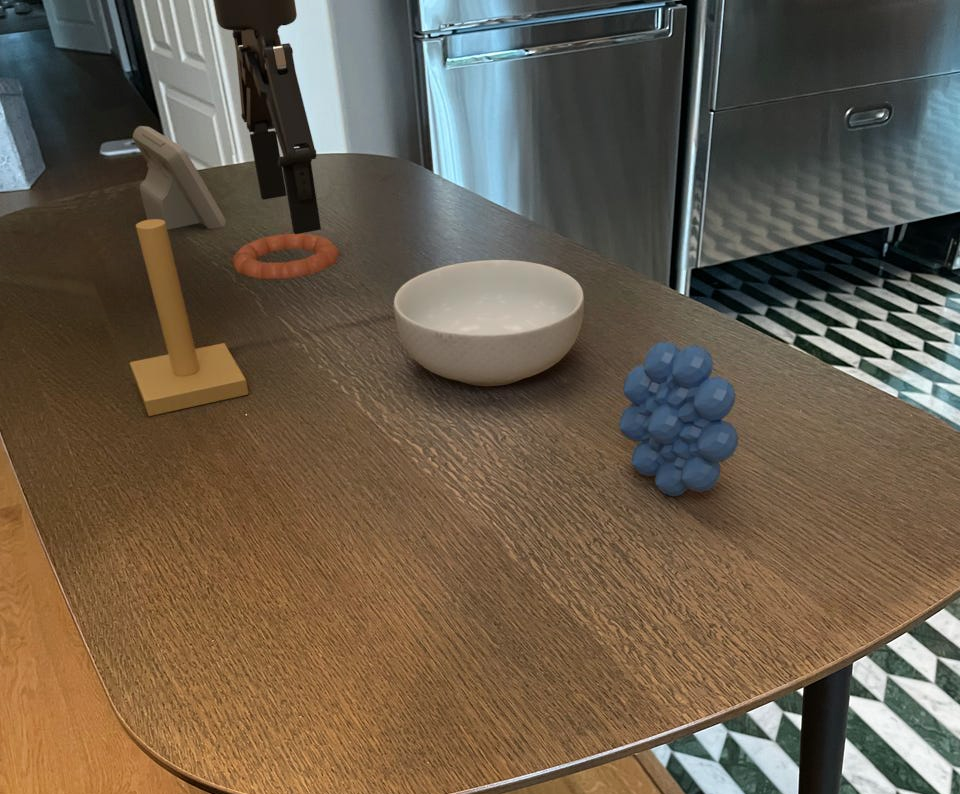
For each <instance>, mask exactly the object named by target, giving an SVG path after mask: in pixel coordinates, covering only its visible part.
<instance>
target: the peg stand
mask: <svg viewBox="0 0 960 794" xmlns="http://www.w3.org/2000/svg"><path fill="white" fill-rule="evenodd" d="M135 228H136V229H135V230H136V233H137V237H138V240H139V244H140V249H141V253H142V256H143V261H144V265H145V269H146V272H147V276H148V280H149V285H150V288H151V291H152V296H153V300H154V304H155V307H156V311H157V316H158V319H159V323H160V327H161V330H162V335H163V338H164V342H165V343H164V344H165V347H166V351H167V354H163V355H158V356H154V357H149V358H143V359H138V360H133V361H130V362H129V366H130V369H131V373H132V377H133V379H134V381H135V382H134V383H135V385H136V387H137V390H138V393H139V395H140V398H141V400H142V402H143V403H142V404H143V405H144V408H145V412H146V413H147V415H148V417H152V416H157V415H160V414H161V415H162V414H165V413H170V412H174V411H180V410H184V409H189V408H193V407H198V406H203V405H206V404H212V403H215V402H216V403H217V402H220V401H221V402H222V401H224V400H229V399H235V398H238V397H239V398H240V397H243V396H247V395H250V393H249V388H248V383H247V379H246V377H245V376H244V374H243V372H242V371H241V369H240V367H239V365H238V364H237V362H236V360H235V359H234V356H233V355H232V353H231V352H230V350H229V348H228V346H227V344H226V343H225V342H222V343H217V344H213V345H212V344H211V345H208V346H202V347H197V348H196V347H195V343H194V339H193V333H192V329H191V326H190V321H189V318H188V312H187V309H186V304H185V300H184V297H183V291H182V287H181V283H180V279H179V275H178V270H177V265H176V262H175V257H174V254H173V250H172V246H171V245H172V244H171V241H170V236H169V232H168V230H167V228H166V224H165V221H164V220H160V219H150V220H147V219H145V220H142V221H139V222H138V223H136V224H135Z"/></svg>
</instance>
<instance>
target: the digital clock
mask: <svg viewBox="0 0 960 794" xmlns="http://www.w3.org/2000/svg"><path fill="white" fill-rule="evenodd" d="M132 140H133V141H134V144H135V145H136V146H137V148H138V150H139V151H140V153H141V155H142V156H143V158H144V160H145V161H146V167H147V168H148V169H147V173H146V177H145V179H144V180H143V181H142V182H141V183H140V185H139V192H140V197H141V201H142V205H143V207H144V208H143V209H144V213H145V216H146V217H145V218H146V220H150V219H160V220H164V221H165V224H166V228H167V231H169V230H174V229H177V228H183V227H188V226H191V225H197V224H201V225H203V226H204V227H206V228H207V229H208V230H209V229H210V230H211V229H221V228H224V227H225V226H226V225H227V224H228V223H227V220H226V218H225V216H224V215H223V212H222V211H221V209H220V208H219V205H218V204H217V202H216V201H215V199H214V197H213V196H212V195H213V194H212V193H211V192H210V190H209V189H208V187H207V185H206V183H205V182H204V179H202V177H201V175H200V173H199V171H198V170H197V168H196V166H195V165H194V163H193V161H192V159H191V157H190V156H189V154H188V153H187V151H186V150H185V148H183V146H181V145H180V144H177V143H176V142H174V141H173V140H172V139H170V138H168V137H167V136H165V135H163V134H162V133H160V132H158V131H157V130H156V129H153V128H152V127H150V126H146V125H139V126H137V127H136V128H135V129H134V130H133V133H132Z"/></svg>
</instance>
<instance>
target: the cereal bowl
mask: <svg viewBox="0 0 960 794" xmlns="http://www.w3.org/2000/svg"><path fill="white" fill-rule="evenodd" d="M584 308H585V294H584V291H583V288H582V286H581V285H580V283H579V282H578V280H576V279H575V278H574V277H572V276H571V275H570V274H567V273H566V272H564V271H562V270H559V269H557V268H555V267H552V266H549V265H546V264H541V263H537V262H529V261H523V260H522V261H521V260H511V259H487V260H485V259H484V260H475V261H474V260H473V261H466V262H460V263H459V262H458V263H454V264H449V265H445V266H441V267H438V268H434V269H431V270H429V271H426V272H424V273H421V274H419V275H416V276H415V277H413V278H411V279H409V280H408V281H406V282H405V283H404V284H402V285H401V286H400V288H399V289H398V290H397V292H396V293H395V296H394V298H393V311H394V312H393V313H394V315H393V316H394V318H395V320H394V321H395V324H396V330H397V333H398V334H399V335H398V336H399V339H400V340H401V344H402V345H403V347H404V349H405V350H406V352H407V353H408V355H409V357H411V358H412V359H413V360H414V361H416V362H417V364H419V365H420V366H422V367H423V369H426V370H428V371H430V372H431V373H433V374H435V375H437V376H440V377H442V378H445V379H449V380H453V381H458V382H459V383H460V382H461V383H464V384H466V385H470V386H476V387H499V386H505V385H510V384H513V383H517V382H519V381H522V380H523V379H527V378H530V377H534V376H535V375H538V374H540V373H542V372H544V371H547V370H548V369H550V368H551V367H553V366H554V365H556V364H557V363H559V362H560V361H561V360H562V359H563V358H564V357H565V356H566V355H567V354H568V353H569V352H570V350H571V349H572V348H573V346H574V344H575V343H576V341H577V338H578V337H579V335H580V331H581V330H582V329H581V328H582V324H583V320H584V311H585V310H584Z"/></svg>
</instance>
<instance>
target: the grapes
mask: <svg viewBox="0 0 960 794" xmlns="http://www.w3.org/2000/svg"><path fill="white" fill-rule="evenodd" d="M713 367H714V361H713V357H712V355H711V353H710V352H709V351H708V350H707V349H706V348H705V347H703V346H700V345H697V344H693V345H692V344H691V345H688V346H684V348H683V349H680V348H679V347H678V346H677V345H676V344H675V343H673V342H671V341H667V340H665V341H659V342H656V343H655V344H654V345H652V346H651V347H650V349H648V351H647V353H646V355H645V357H644V361H643V364H642V365H641V364H640V365H636V366H635V367H633V368H632V369H631V370H630V371H629V372H628V373H627V376H626V377H625V379H624V381H623V387H622V388H623V390H622V391H623V394H624V396H625V398H626V399H627V400H628V401H629V402H630V403H631V404H629V405H628V406H627V407H626V408H624V410H623V412H622V413H621V415H620V418H619V422H618V429H619V432H620V433H621V434H622V435H623V436H624V437H625V438H626V439H627V440H629V441H632V442H634V443H637V442H639V443H637V444H636V446H635V448H634V450H633V452H632V454H631V460H630V461H631V466H632V467H633V469H634V470H635V471H636V472H637V473H638V474H639V475H642V476H645V477H649V478H650V477H655V479H654V481H655V486H656V488H657V489H658V490H659V491H660V493H662V494H663V493H664V494H663V495H666V494H667V495H666V496H669V497H671V496H672V497H679V495H680V496H682V495H683V494H684V493H686V492H687V491H688V490H691V491H694V492H696V493H701V492H702V493H703V492H707V491H709V490H710V489H712V488H713V487H714V486H716V484H717V482H718V481H719V479H720V478H721V477H720V476H721V470H722V468H721V464H720V463H722V462H725V461H727V460H728V459H729V458H731V457H732V456H733V455H734V453H735V452H736V449H737V447H738V445H739V434H738V432H737V429H736V428H735V427H734V425H732V424H731V423H730V422H728V421H725V420H723V419H724V418H725V417H727V416H728V415H729V414H730V413H731V411H732V410H733V407H734V405H735V403H736V397H737V393H736V390H735V387H734V386H733V384H732V383H731V382H730V381H729V379H726V378H723V377H720V376H713V377H710V376H711V374H712V372H713Z"/></svg>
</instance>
